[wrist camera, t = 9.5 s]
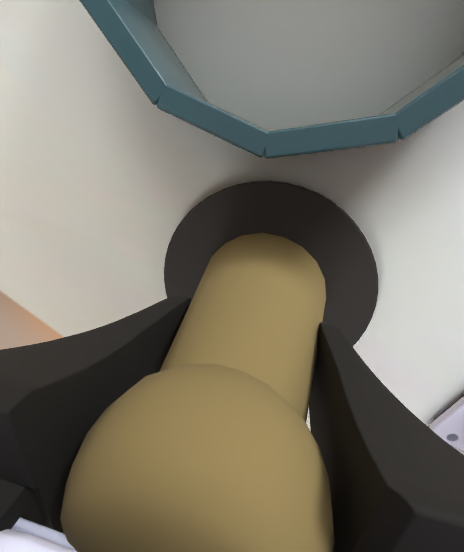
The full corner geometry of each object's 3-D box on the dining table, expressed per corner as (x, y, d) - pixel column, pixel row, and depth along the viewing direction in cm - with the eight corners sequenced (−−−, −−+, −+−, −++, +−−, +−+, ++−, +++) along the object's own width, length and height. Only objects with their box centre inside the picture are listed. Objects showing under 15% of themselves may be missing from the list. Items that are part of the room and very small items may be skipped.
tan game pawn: (191, 319, 16) (5, 597, 6) (220, 214, 13) (-32, 408, 3) (297, 360, 15) (282, 738, 6) (349, 259, 13) (501, 648, 3)
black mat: (429, 246, 12) (433, 249, 12) (305, 399, 17) (305, 405, 16) (206, 139, 12) (203, 139, 12) (146, 319, 17) (142, 322, 17)
